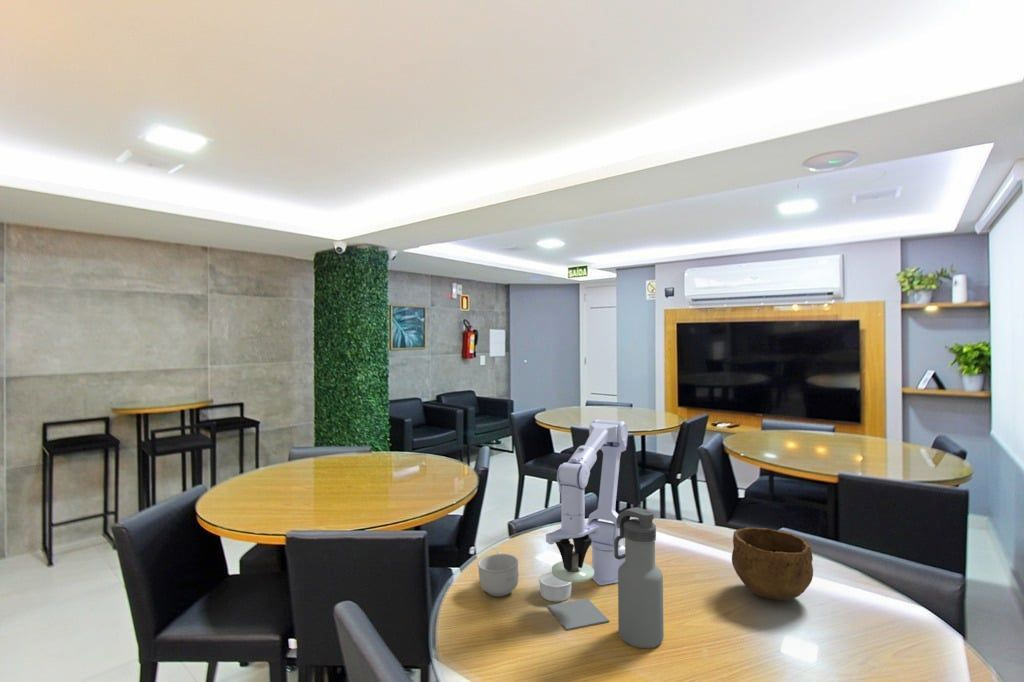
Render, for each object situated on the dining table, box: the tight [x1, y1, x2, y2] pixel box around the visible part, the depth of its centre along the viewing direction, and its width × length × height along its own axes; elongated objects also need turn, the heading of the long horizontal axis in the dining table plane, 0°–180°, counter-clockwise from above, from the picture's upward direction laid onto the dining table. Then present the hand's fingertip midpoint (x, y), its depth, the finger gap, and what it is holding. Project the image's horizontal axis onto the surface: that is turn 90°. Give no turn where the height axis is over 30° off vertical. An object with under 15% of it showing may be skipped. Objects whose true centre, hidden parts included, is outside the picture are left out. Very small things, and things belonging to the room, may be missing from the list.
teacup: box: [477, 550, 519, 597], centre depth 133 cm, size 14×11×8 cm
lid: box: [551, 550, 594, 583], centre depth 122 cm, size 10×10×5 cm
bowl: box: [731, 527, 814, 601], centre depth 129 cm, size 19×19×15 cm
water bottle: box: [614, 507, 665, 649], centre depth 111 cm, size 10×10×28 cm
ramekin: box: [538, 571, 573, 602], centre depth 130 cm, size 9×9×4 cm
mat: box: [547, 598, 610, 631], centre depth 120 cm, size 11×11×1 cm
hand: (573, 567), depth 122 cm, fingers closed on lid, 3 cm apart
